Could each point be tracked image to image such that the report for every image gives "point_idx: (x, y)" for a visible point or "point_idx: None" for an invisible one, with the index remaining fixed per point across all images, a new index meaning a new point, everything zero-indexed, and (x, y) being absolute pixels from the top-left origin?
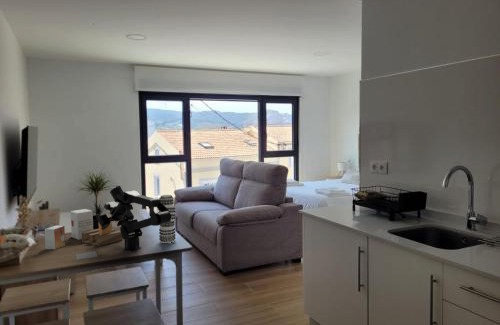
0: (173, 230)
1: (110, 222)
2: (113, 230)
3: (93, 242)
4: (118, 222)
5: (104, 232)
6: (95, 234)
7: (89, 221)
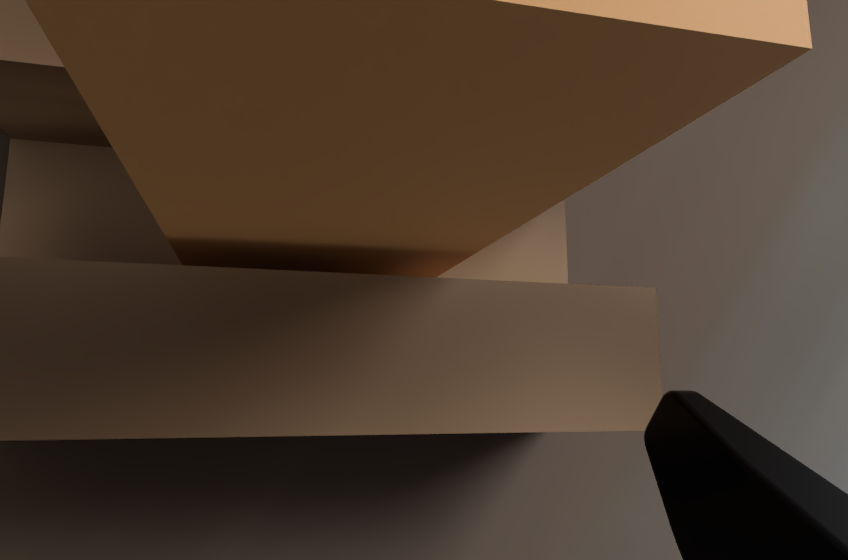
0: None
1: (591, 153)
2: None
3: (49, 148)
4: (770, 520)
5: (260, 228)
6: None
7: None
